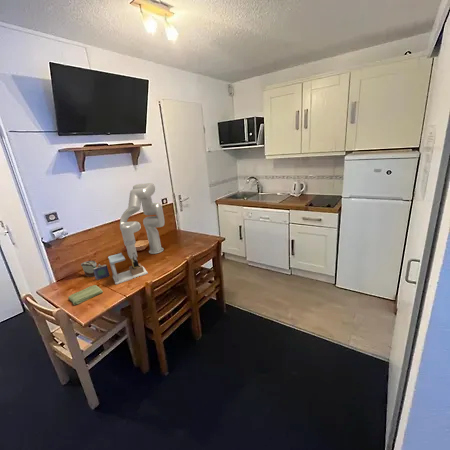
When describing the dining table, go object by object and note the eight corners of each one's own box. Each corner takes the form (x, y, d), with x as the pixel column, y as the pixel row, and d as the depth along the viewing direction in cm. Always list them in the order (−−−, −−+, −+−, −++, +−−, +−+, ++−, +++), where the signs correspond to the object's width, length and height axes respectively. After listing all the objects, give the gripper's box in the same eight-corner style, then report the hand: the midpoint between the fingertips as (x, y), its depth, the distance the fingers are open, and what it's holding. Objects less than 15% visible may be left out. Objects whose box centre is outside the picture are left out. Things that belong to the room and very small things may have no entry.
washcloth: (104, 292, 161) (103, 288, 160) (75, 307, 149) (73, 302, 148) (96, 286, 170) (95, 282, 169) (68, 299, 158) (66, 295, 157)
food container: (103, 272, 189) (99, 260, 186) (96, 276, 184) (93, 264, 181) (90, 271, 193) (87, 259, 190) (84, 275, 188) (80, 263, 185)
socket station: (112, 276, 181) (107, 256, 176) (142, 266, 191) (138, 247, 186) (115, 284, 169) (110, 263, 164) (147, 273, 180) (143, 253, 175)
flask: (96, 280, 178) (92, 267, 175) (95, 279, 180) (91, 265, 177) (109, 276, 182) (106, 263, 179) (109, 274, 184) (105, 261, 181)
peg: (133, 271, 183) (130, 256, 180) (138, 269, 185) (135, 255, 181) (134, 273, 180) (131, 258, 177) (139, 271, 182) (136, 256, 178)
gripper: (122, 240, 180) (127, 263, 186) (126, 246, 167) (132, 271, 172) (132, 237, 184) (137, 260, 190) (138, 243, 170) (143, 267, 176)
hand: (135, 265), depth 181 cm, fingers open, 4 cm apart
